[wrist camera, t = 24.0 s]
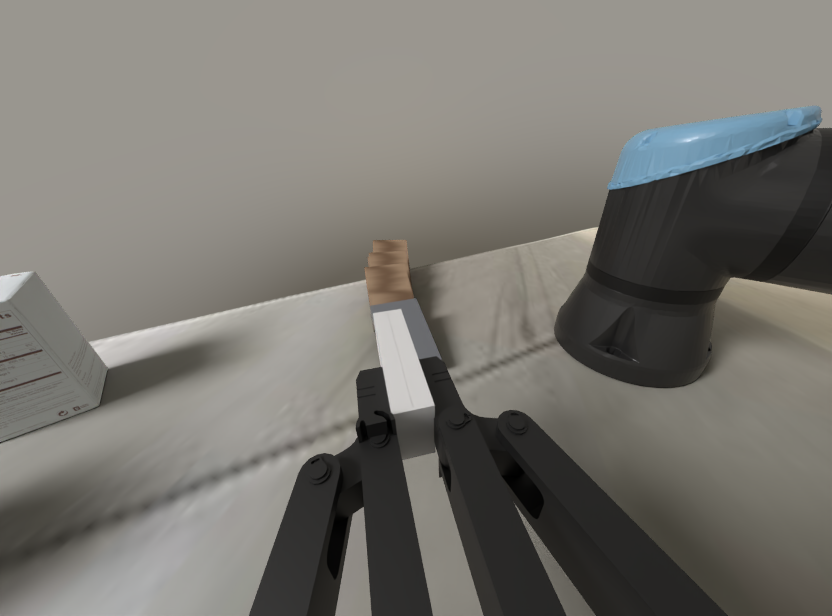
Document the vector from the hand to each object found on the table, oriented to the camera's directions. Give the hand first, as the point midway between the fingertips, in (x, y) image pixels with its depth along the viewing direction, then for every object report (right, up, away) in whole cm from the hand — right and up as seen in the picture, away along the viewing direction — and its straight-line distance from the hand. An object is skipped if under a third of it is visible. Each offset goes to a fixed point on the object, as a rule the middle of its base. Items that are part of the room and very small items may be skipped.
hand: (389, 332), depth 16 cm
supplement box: (-35, -9, +15) cm, 39 cm away
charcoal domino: (+1, -5, +16) cm, 16 cm away
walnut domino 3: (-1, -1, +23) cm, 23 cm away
